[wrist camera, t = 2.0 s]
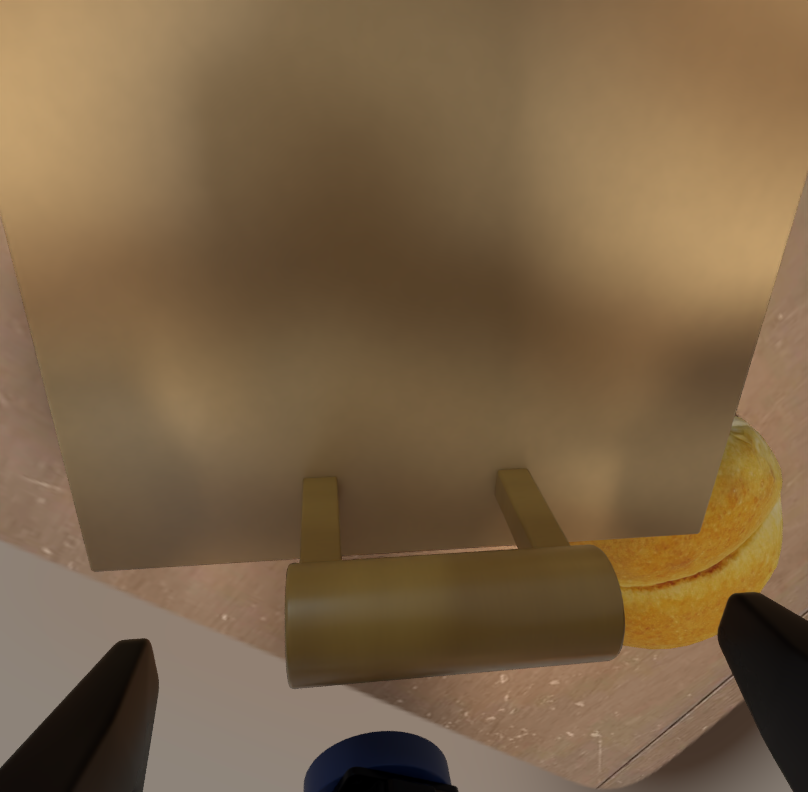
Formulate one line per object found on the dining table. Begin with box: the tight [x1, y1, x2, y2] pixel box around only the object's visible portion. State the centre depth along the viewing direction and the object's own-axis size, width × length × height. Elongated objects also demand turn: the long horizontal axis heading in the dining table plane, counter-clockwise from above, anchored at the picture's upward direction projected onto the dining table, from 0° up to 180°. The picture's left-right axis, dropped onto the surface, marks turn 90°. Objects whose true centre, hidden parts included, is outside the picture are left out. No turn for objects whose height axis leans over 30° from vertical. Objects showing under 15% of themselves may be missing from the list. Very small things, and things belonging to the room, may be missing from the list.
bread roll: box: [569, 416, 783, 649], centre depth 21 cm, size 8×9×4 cm
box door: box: [0, 0, 808, 689], centre depth 10 cm, size 11×14×5 cm
